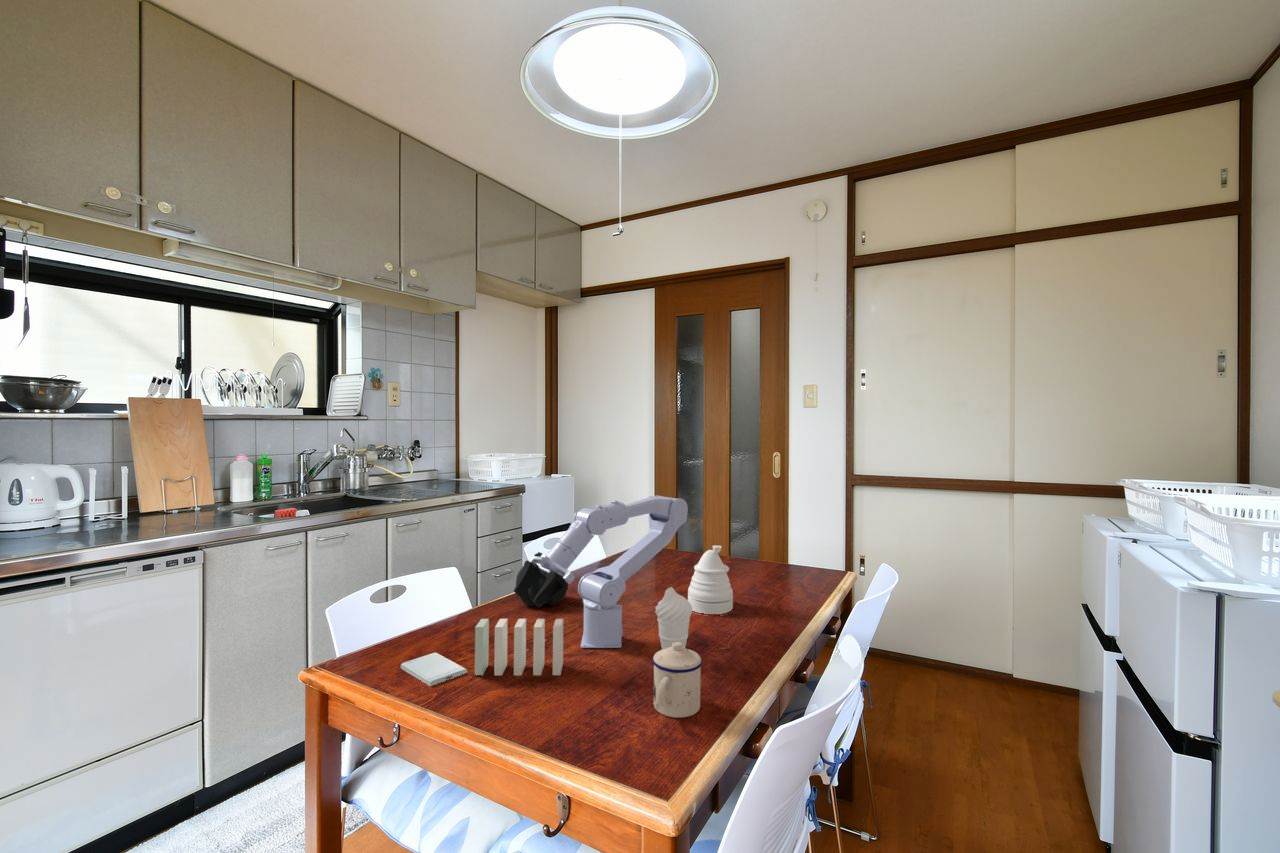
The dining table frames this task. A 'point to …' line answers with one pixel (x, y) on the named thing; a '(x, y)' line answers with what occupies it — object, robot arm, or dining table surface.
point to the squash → (538, 589)
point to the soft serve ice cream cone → (673, 618)
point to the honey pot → (711, 585)
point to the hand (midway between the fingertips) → (526, 599)
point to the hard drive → (433, 669)
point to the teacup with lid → (677, 681)
